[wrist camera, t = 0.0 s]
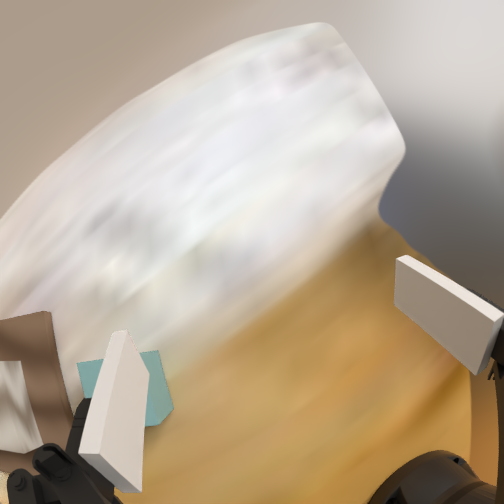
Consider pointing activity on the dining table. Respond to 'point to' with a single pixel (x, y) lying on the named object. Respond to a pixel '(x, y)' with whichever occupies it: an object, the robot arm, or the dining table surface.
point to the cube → (157, 387)
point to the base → (30, 391)
